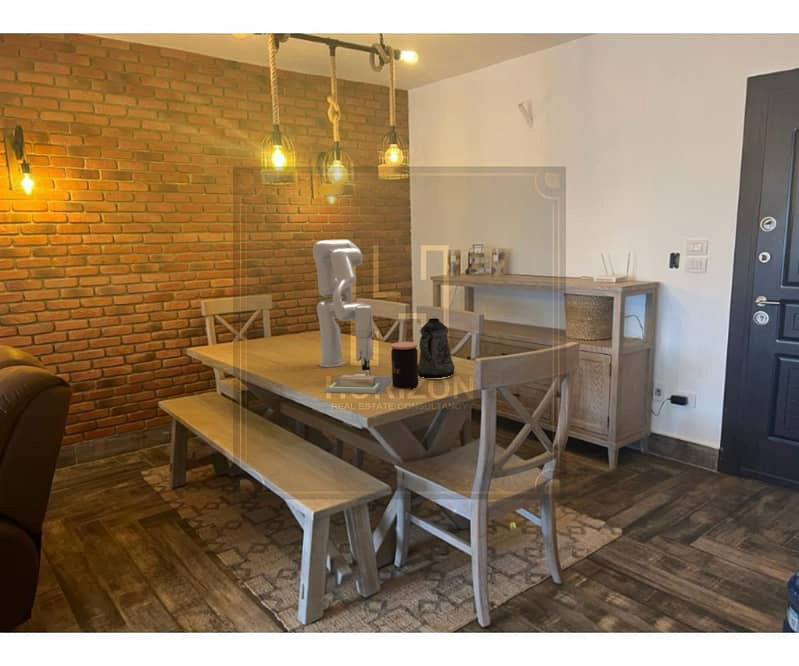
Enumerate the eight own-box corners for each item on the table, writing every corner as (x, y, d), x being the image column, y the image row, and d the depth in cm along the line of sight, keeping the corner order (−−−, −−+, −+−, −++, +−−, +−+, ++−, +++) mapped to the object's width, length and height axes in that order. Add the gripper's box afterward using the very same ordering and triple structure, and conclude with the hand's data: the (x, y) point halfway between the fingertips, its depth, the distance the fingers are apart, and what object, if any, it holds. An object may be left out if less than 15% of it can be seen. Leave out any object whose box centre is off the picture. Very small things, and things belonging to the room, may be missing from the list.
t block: (349, 378, 250) (348, 369, 250) (380, 379, 248) (380, 370, 247) (340, 387, 237) (339, 378, 237) (373, 388, 235) (373, 378, 234)
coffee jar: (391, 384, 244) (390, 342, 240) (417, 383, 244) (415, 341, 241) (393, 391, 233) (391, 347, 230) (419, 390, 234) (418, 346, 231)
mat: (341, 377, 257) (341, 371, 256) (394, 378, 252) (394, 372, 251) (322, 394, 232) (322, 387, 231) (381, 396, 227) (380, 389, 226)
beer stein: (453, 369, 264) (452, 315, 260) (456, 381, 245) (455, 322, 241) (417, 370, 265) (415, 316, 260) (417, 382, 246) (415, 323, 241)
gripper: (360, 330, 255) (362, 371, 259) (351, 337, 241) (353, 380, 244) (377, 330, 254) (378, 371, 257) (368, 337, 240) (370, 380, 243)
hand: (366, 375), depth 251 cm, fingers closed
